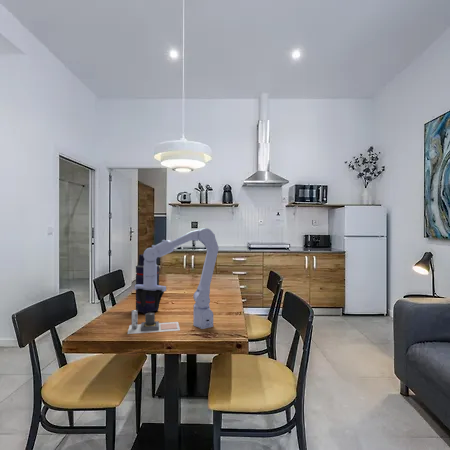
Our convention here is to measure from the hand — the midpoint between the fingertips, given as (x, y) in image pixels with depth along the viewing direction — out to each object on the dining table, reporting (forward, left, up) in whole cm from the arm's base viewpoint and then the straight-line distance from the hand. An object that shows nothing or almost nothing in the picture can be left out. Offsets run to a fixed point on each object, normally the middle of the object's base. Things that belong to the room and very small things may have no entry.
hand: (150, 306), depth 138 cm
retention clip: (-3, +8, -9) cm, 12 cm away
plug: (0, 0, -9) cm, 9 cm away
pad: (-3, -7, -9) cm, 12 cm away
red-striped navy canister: (+30, -9, -10) cm, 33 cm away
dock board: (-1, -2, -10) cm, 10 cm away
